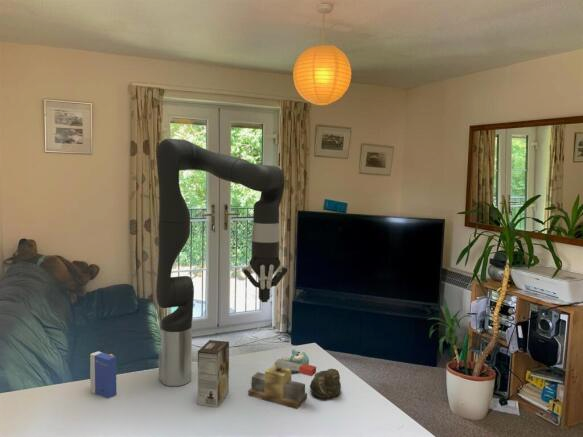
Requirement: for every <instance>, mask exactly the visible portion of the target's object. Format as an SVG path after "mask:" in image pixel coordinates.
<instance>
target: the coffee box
mask: <svg viewBox="0 0 583 437" xmlns="http://www.w3.org/2000/svg"><path fill="white" fill-rule="evenodd" d="M229 373H230V341H223V340H215V339H209V340H208V341H207V342H206V343H205V344H204V345H203V346H201V348H200V349H198V350H197V405H199V406H205V407H211V408H212V407H213V408H219V406H220V404H222V402H223V400H225V398H226V396H228V394H229V391H230V390H229V386H230V385H229V383H230V382H229V381H230V379H229V378H230V374H229Z"/></svg>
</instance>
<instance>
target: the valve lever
mask: <svg viewBox="0 0 583 437" xmlns="http://www.w3.org/2000/svg"><path fill="white" fill-rule="evenodd" d="M275 361H276V360H275ZM275 361H274V363H275V364H274V365H276V370H277V371H280V370H281V367H284V368H288V369H292V370H295V372H298V373H299V374H301V375H304V376H308V377H313V376H314V375H315V374H316V373H317V366H314V365H311V364H309V365H308V364H302V365H301V364H297V363H293V362H289V361H285V360H281V359H280V358H278V360H277V361H276V362H275Z"/></svg>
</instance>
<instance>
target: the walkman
mask: <svg viewBox="0 0 583 437" xmlns="http://www.w3.org/2000/svg"><path fill="white" fill-rule="evenodd" d="M89 358H90V361H89V362H90V365H89V366H90V367H89V370H90V374H89V376H90V381H89V382H90V393H93V394H94V395H95V394H96V395H99V396H101V397H104V398H107V399H111V398H112V397H115V396H116V395H117V356H116V355H114V354H112V353H110V354H109V353H106V352H101V351H96V352H92V353H90V356H89Z"/></svg>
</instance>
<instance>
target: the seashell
mask: <svg viewBox="0 0 583 437" xmlns="http://www.w3.org/2000/svg"><path fill="white" fill-rule="evenodd" d="M313 376H314V377H313V379H312V380H311V381H310V385H309V389H310V390H311V393H312V394H313V395H314V396H316V397H318V398H321V399H323V398H327V399H328V398H333V397H335V396H339V395H340V393H341V391H342V385H341V384H342V383H341V381H340V380H341V375H340V372H339V371H338V370H337V369H336V368H329V369H326V370H320V371H318V372H316V373H315V374H314V375H313Z"/></svg>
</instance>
